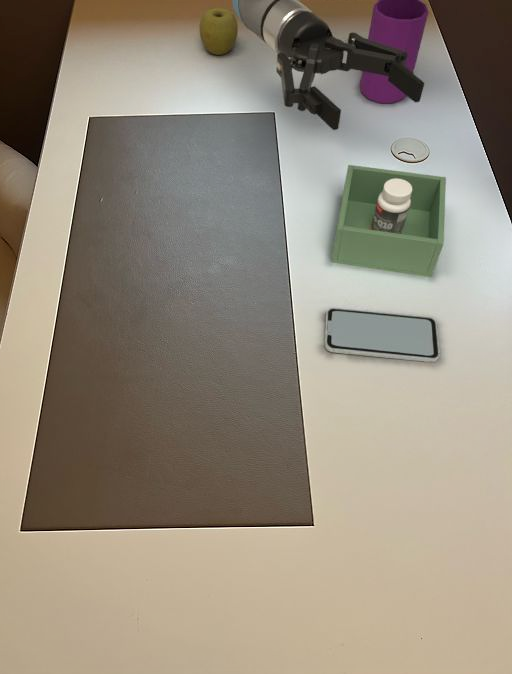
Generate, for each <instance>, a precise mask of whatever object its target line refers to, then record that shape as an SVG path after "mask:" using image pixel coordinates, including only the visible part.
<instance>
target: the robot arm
mask: <svg viewBox="0 0 512 674" xmlns="http://www.w3.org/2000/svg"><path fill="white" fill-rule="evenodd" d="M231 1H232V7H233V11H234V14H235V15H236V16H237V17H238V19H239V20H240V21H241V22H242V23H243V25H244V26H245V28H247V29H248V30H249V31H251V32H252V33H254V34H255V35H256V36H257V37H258V38H259V39H260V40H262V41H263V42H264V43H265V44H266V45H267V46H268V47H270V48H271V49H272V50H273V51H274V52H275V53H276V66H275V67H276V68H275V71H276V73H277V75H278V76H279V77H280V80H281V88H282V97H283V103H284V107H286V108H292V107H293V106H294V104H297V110H298V111H299V112H304V111H306V110H307V111H308V112H309V113H310V114H312V115H314V116H318V117H319V118H320V119H321V120H322V121H323V122H324V123H325V125H327V126H328V127H330V128H331V129H332V131H335V130H338V129H339V126H340V122H341V121H340V119H341V113H342V110H341V108H339V107H338V106H337V105H336V104H335V103H334V102H333V101H332V100H331V99H330V98H328V96H326V95H325V94H324V93H323V92H322V91H321V90H320V89H318V87H317V86H312V85H313V83H314V79H315V76H316V74H319V75H325V74H328V73H329V72H333V71H342V72H349V71H350V70H355V71H360V72H362V71H364V72H369V73H374V74H379V75H384V76H389V77H388V81H389V82H390V83H392V84H393V85H394V86H395V87H397V88H398V89H399V90H400V91H402V92H403V93H404V94H405V95H406V96H405V97H407V98H409V99H410V100H411V101H413V103H415V104H416V103H419V102H421V98H422V96H423V95H422V94H423V90H424V87H425V82H424V81H423V80H422V79H421V78H419V77H418V76H417V75H415V73H414V72H412V71H411V70H410V69H408V68H407V67H406V66H405V64H406V60H407V55H408V53H407V52H405V51H402V50H399V49H396V48H393V47H390V46H387V45H384V44H381V43H378V42H375V41H372V40H369V39H368V38H365V37H363V36H361V35H360V34H358V33H357V32H353V31H352V32H349V33H348V38H347V39H345V40H342V39H339V38H336V37H334V35H333V33H332V31H331V28H330V26H329V25H328V24H327V22H325V21H324V20H323V19H322V18H320V17H319V16H318V15H316V14H315V13H313V11H312V10H311V9H309V8H308V7H307V6H306V5H305V4H303V3H302V2H301V1H299V0H231ZM345 52H346V60H345V62H344V53H345ZM293 70H294V71H296V72H300V73H302V77H301V79H300V83H299V87H298V88H295V83H294V77H293Z"/></svg>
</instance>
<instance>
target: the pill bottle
mask: <svg viewBox="0 0 512 674" xmlns="http://www.w3.org/2000/svg"><path fill="white" fill-rule="evenodd" d="M411 193H412V186H411V184H410V183H409V182H407V181H405V180H403V179H391V180H388V181H387V182H386V183H385V184H384V187H383V191H382V193H381V194H380V195H379V197H378V200H377V204H376V208H375V212H374V216H373V220H372V224H371V229H370V230H376V231H383V232H390V233H397V234H401V233H402V230H403V227H404V224H405V220H406V217H407V214H408V211H409V207H410V204H411V200H410V197H411Z"/></svg>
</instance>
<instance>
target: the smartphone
mask: <svg viewBox="0 0 512 674" xmlns="http://www.w3.org/2000/svg"><path fill="white" fill-rule="evenodd" d="M324 330H325V332H324V348H325V349H326V350H327V351H328V352H330V353H337V354H344V355H345V354H346V355H355V356H366V357H376V358H387V359H397V360H405V361H406V360H407V361H416V362H426V363H435V362H437V361H438V359H439V358H440V355H441V351H440V342H439V341H440V340H439V332H438V323H437V320H436V319H435V318H434V317H431V316H426V315H413V314H404V313H394V312H384V311H373V310H362V309H352V308H341V307H330V308H328V309H327V310H326V313H325V329H324Z"/></svg>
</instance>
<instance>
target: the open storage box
mask: <svg viewBox="0 0 512 674" xmlns="http://www.w3.org/2000/svg"><path fill="white" fill-rule="evenodd" d="M391 179H403V180H405V181H407V182H409V183H410V184H411V186H412V193H411V197H410V200H411V204H410V207H409V211H408V214H407V217H406V220H405V224H404V227H403V230H402V233H401V234H397V233H390V232H383V231H376V230H370V229H371V224H372V220H373V216H374V212H375V208H376V204H377V200H378V197H379V195H380V194H381V193H382V191H383V187H384V184H385V183H386V182H387V181H388V180H391ZM343 186H344V187H343V193H342V198H341V202H340V203H341V204H340V210H339V215H338V221H337V227H336V231H335V232H336V233H335V238H334V244H333V249H332V255H331V260H330V263H333V264H340V265H345V266H352V267H359V268H365V269H372V270H379V271H384V272H385V271H386V272H392V273H393V272H394V273H399V274H405V275H413V276H419V277H425V278H426V277H427V278H432V275H433V274H434V271H435V268H436V265H437V263H438V260H439V257H440V255H441V252H442V251H443V247H444V244H445V243H444V242H445V221H446V220H445V216H446V191H447V190H446V189H447V187H446V186H447V177H446V176H438V175H431V174H424V173H423V174H422V173H416V172H407V171H401V170H393V169H384V168H376V167H369V166H362V165H361V166H360V165H354V164H348V165H347V169H346V175H345V182H344V185H343Z"/></svg>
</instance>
